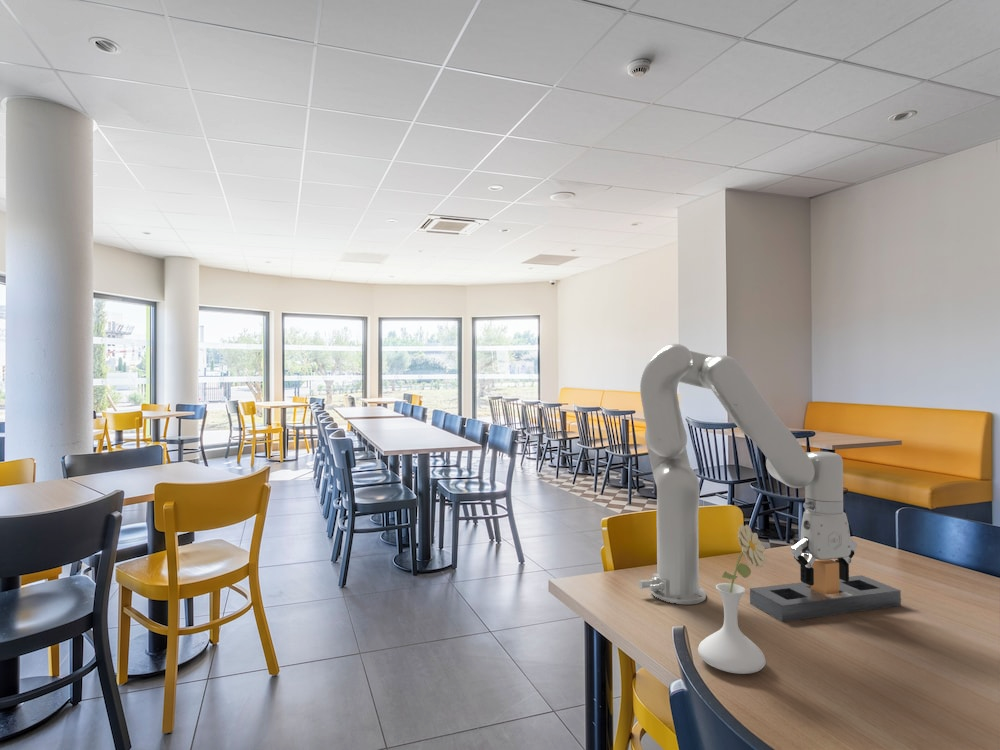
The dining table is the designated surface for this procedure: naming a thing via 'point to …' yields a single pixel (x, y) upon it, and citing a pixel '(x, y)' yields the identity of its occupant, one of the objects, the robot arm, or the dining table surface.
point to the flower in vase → (735, 617)
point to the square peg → (826, 576)
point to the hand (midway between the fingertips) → (824, 581)
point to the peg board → (823, 599)
